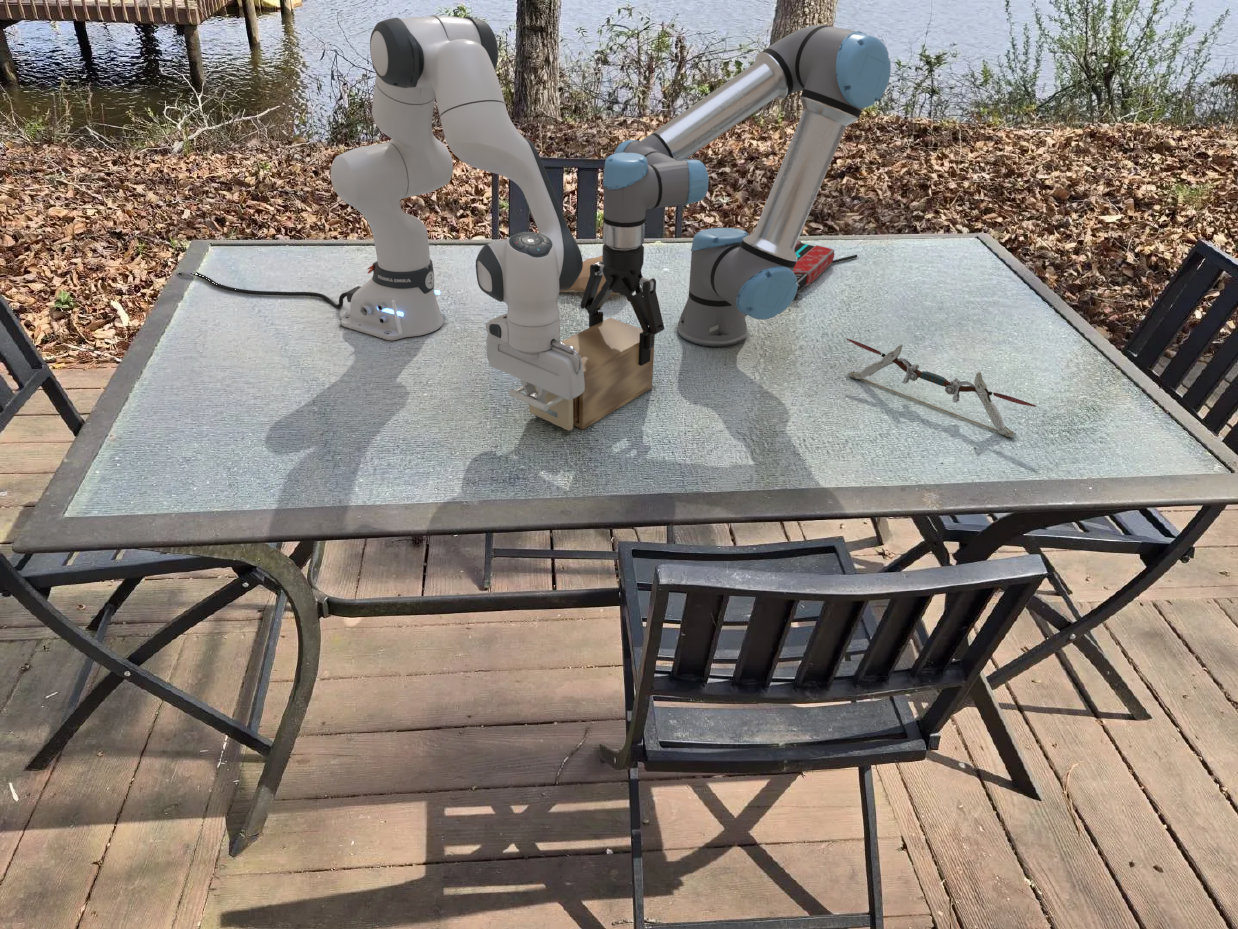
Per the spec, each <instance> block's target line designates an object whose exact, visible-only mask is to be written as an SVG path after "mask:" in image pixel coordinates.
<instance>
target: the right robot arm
mask: <svg viewBox="0 0 1238 929" xmlns="http://www.w3.org/2000/svg"><path fill="white" fill-rule="evenodd" d="M891 68H892V64H891V59H890V57H889V51H888V48H887V47H886V45H885V44H884V43H883V42H882V41H881V40H880V39H879V38H878V37H876V36H874V35H871V34H867V33H866V32H863V31H860V30H857V31H856V30H851V29H846V28H841V27H835V26H832V25H829V24H828V25H827V24H814V25H808V26H806V27H803V28H799V29H797V30H796V31H793V32H792V33H790V34H788V35H786V36H784V37H782V38H780V39H779V40H777V41H776V42H774V43H772V44H771V45H769V46H768V47H766V48H765V49H764V50H762V51H761V52H759V53H758V54H756V56H755V59H754V63H753V64H751V65H750V66H748V67H747V68H745V69H744V70H742V71H741V72H739V73H738V74H737V75H735V76H734V77H732V78H731V79H729V80H728V81H726V82H725V83H723V84H722V85H720V86H719V87H718V88H716V89H714V90H713V91H712V92H710V93H709V94H708V95H705V96H704V97H703V98H702V99H700V100H699V101H697V102H696V103H694V104H693V105H691V106H690V107H689V108H687V109H685V110H684V111H682V112H681V113H679V114H678V115H677V116H676V117H674V118H672V119H671V120H669V121H668V122H667V123H665V124H663V125H662V126H661V127H659V128H657V129H656V130H655V131H653V132H652V133H650V134H649V135H648V136H646V137H644V138H643V139H641V140H638V139H627V140H624V141H622V142H621V143H620V144H619V145H618V146H617V147H616V148H615V151H614V153H612V154H610V155H608V156H607V157H606V159H605V162H604V168H603V180H602V187H603V199H602V200H603V207H602V208H603V210H602V211H603V212H602V213H603V217H602V218H603V219H602V243H603V245H602V254H601V256H602V262H603V263H602V262H601V261H599V262H597V263H594V264H592V265H590V277H589V280H588V283H587V286H586V289H585V292H583V294H582V298H581V301H580V304H579V306H580V308H581V309H583V310H584V309H585V310H586V312H587V314H588V328H590V327H592V326H594V325H596V324H598V323H600V322H602V321H604V312H603V311H601V310H603V308H602V307H603V306H604V304H606V302H607V300H608V299H609V298H608V297H609V296H610V295H611V293H612V292H614V293H619V294H620V295H621V296H622V297H625V298H626V301H627V302H629V303H630V305H631V307H632V309H633V310H632V311H633V312H634V314H635V316H636V318H637V321H638V323H639V325H640V329H642V330H643V332H642V333H640V339H639V364H638V365H640V366H642V365H644V364H646V363H648V362H649V361H650V355H651V349H652V348H653V347H654V348H655V341H654V335H655V336H656V335H657V334H659V333H661V332H663V331H664V330H665V324H664V321H663V316H662V312H661V307H660V303H659V299H658V295H657V280H656V278H654V277H652V278H650V279H649V278H645V277H643V273H642V269H643V266H644V261H645V260H644V259H645V247H644V245H643V244H644V243H645V235H646V234H645V233H646V232H645V231H646V230H645V228H646V214H647V210H654V209H660V208H668V207H676V206H688V205H690V204H694V203H695V204H696V203H700V202H701V201H703V200H704V199H705V198H706V196H707V194H708V191H709V182H710V180H709V179H710V178H709V173H708V169H707V167H706V166H705V164H704V163H703V162H702V161H701V160H699V159H688V158H690V157H692V156H693V155H694V154H695V153H697V152H699V151H700V150H702V149H703V148H704V147H706V146H707V145H709V144H710V143H712V142H713V141H715V140H716V139H718V138H719V137H721V136H722V135H723V134H725V133H727V132H728V131H729V130H731V129H732V128H734V127H736V126H738V124H740V123H741V122H742V121H744V120H746V119H748V117H750V116H751V115H753V114H754V113H755V112H757V111H759V110H760V109H761V108H763V107H765V105H767V104H769V103H770V102H772V101H773V100H777V101H782V100H784V99H786V98H787V97H789V96H790V95H792V94H794V93H798V92H801V94H800V97H799V99H800V103H801V106H802V109H803V110H802V113H801V114H800V118H799V120H798V123H797V126H796V128H795V130H794V132H793V136H792V138H791V139H790V140H791V141H790V142H789V145H788V148H787V150H786V151H785V155H784V157H783V159H782V162H781V165H780V167H779V169H778V172H777V175H776V176H775V180H774V182H773V184H772V187H771V188H770V191H769V194H768V197H767V199H766V201H765V204H764V207H763V209H762V211H761V214H760V216H759V219H758V221H757V223H756V227H755V229H754V231H753V232H752V233H750V234H749V232H747V231H746V230H744V229H740V228H733V227H713V228H712V227H711V228H706V229H702V230H700V231H698V232H696V233H695V235H694V236H693V239H692V244H691V248H690V252H691V253H690V254H691V257H690V268H689V284H688V297H687V300H686V302H685V305H684V307H683V310H682V312H681V315H680V316H679V319H678V323H677V332H678V335H679V336H680V337H681V338H682V339H684V340H685V341H687V342H690V343H692V344H695V345H698V346H704V347H712V348H719V347H729V346H733V345H737V344H739V343H741V342H743V341H744V340H745V339H746V337H747V332H748V331H747V330H748V326H747V321H746V315H747V316H749V317H750V318H752V319H755V320H759V321H764V320H766V321H767V320H770V319H773V318H775V317H777V316H778V315H780V314H782V313H784V311H786V310H787V309H788V308H789V307H790V306H791V304H792V302H793V301H794V300H795V299H794V297H795V295H796V292H797V288H798V283H797V282H796V281H797V278H796V276H795V274H794V272H793V269H794V267H795V265H796V262H797V256H796V253H795V251H794V248H795V245H796V243H797V241H798V240H799V238H800V236H801V234H802V231H803V229H804V226H805V224H806V222H807V220H808V217H809V215H810V213H811V211H812V209H813V205H814V204H815V201H816V199H817V196H818V194H819V191H820V190H821V187H822V184H823V182H824V180H825V178H826V175H827V173H828V171H829V169H830V166H831V164H832V161H833V159H834V157H835V154H836V152H837V150H838V147H839V146H840V143H841V140H842V138H843V136H844V134H845V130H846V129H847V127H848V126H849V125H851V124H854V123H855V122H857V121H859V119H860V117H861V114H862V112H863V109H866V108H868V107H871V106H873V105H875V102H878V101H879V100H881V98H882V97H883V95H884V93H885V92H886V91H887V88H888V84H889V82H890V78H891V71H892V69H891ZM857 258H858V254H853V255H849V256H845V257H841V258H837V259H833V261H832V263H831V264H830V265H832V264H837V263H840V262H844V261H848V260H852V259H857ZM603 274H604V277H605V279H606V282H605V283H604V285H603V286H602V287H601V291H600V292H599V293H598V295H597V296H596V293H597V290H598V288H599V285H600V282H601V279H602V276H603ZM634 293H635V294H634ZM619 294H618V295H619ZM595 296H596V297H595Z"/></svg>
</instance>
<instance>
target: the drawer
mask: <svg viewBox="0 0 1238 929" xmlns="http://www.w3.org/2000/svg"><path fill="white" fill-rule="evenodd" d="M534 387H535V390H536V386H535V385H534ZM523 392H525V391H524V389H523V387H522V386H520V387H518V388H516V389H514V388H511V389H510V390H509V391H508V395H509V396H510V397H512V398H515V399H517V400H519V401H522V402H523V403H525V404H528V411H529V412H528V413H530V414H531V415H534V416H535V417H538V418H541V419H542V420H545V421H547V422H549V423H551V424H553V425H555V426H558V427H560V428H562V429H564V430H567V431H572V430H573V429H574V425H573V421H574V422H576V421H578V420H579V396H578V397H576V398H574V399H572V400H567V399H564V398H562V397H560V396H558V395H555V394H553V393H551V392H548V393H547V394H546V396H545V403H543V402H541V401H538V400H536V399H534V398H532V397H530V396H527V395H526V393H523ZM536 392H539V391H537V390H536Z"/></svg>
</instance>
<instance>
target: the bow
mask: <svg viewBox="0 0 1238 929" xmlns="http://www.w3.org/2000/svg"><path fill="white" fill-rule="evenodd" d="M845 340H846V341H847V342H850V343H852V344H853V345H855V346H857V347H859V348H860V349H861V348H862V349H864V350H866V351H869V352H871V353H874V354H876V355H880V357H881V358H882V359H881V360H878V361H876V362H873V363H872V364H870V365H868V366H866V367H865V368H864V369H862V370H861V371H855V370H853V371H850V372H848V374H847V375H848V376H849V377H851V378H853V379H855V380H861V381H864V382H867V383H869V384H872V385H874V386H877V387H880V388H882V389H886V390H887V391H890V392H893V393H896V394H898V395H901V396H904V397H906V398H909V399H912V400H914V401H916V402H919V403H922V404H924V405H927V406H929V407H933V408H936V409H937V410H941V411H943V412H946V413H948V414H951V415H954V416H956V417H959V418H962V419H964V420H967V421H969V422H971V423H974V424H977V425H980V426H982V427H985V428H988V429H991V430H992V431H995V432H998V433H999V434H1001V435H1003V436H1005V437H1007V438H1014V436H1015V435H1016V433H1015V432H1014V431H1013V430H1011V429H1010V428H1009V427H1007V426H1006V425H1005V424H1004V420H1003V418H1002V415H1001V413H1000V411H999V409H998V408H997V406H996V405H995V403H994V402H993V401H992V399H991V396H992V395H993V396H994V397H996V398H999V399H1002V400H1005V401H1008V402H1011V403H1015V404H1019V405H1022V406H1028V407H1033V408H1034V407H1035V408H1036V407H1037V404H1033V403H1030V402H1027V401H1026V400H1025V401H1024V400H1022V399H1020V398H1016V397H1013V396H1010V395H1006V394H1003V393H1000V392H999V393H998V392H993V391H991V390H990V391H989V389H988V386H987V384H986V382H985V381H984V379H983V375H982V371H977V372H976V373H975V377H974V382H973V383H972V382H970V381H968V380H964V381H961V380H960V379H958V378H957V377H954V379H953V380H951V381H949V380H947V378H946V377H944V376H942V375H939V374H937V373H933V372H930V371H927V370H926V371H925V370H922V371H921V370H919V368H920V365H919V364H918V363H917V364H912V363H911V362H910V361H909V360H908V359H906V358H902V357H899V356H900V355H901V354H902V349H903V344H898V345H897V347H896V348H895V349H894V350H891V351H889V352H888V353H887V354H886V353H884V352H881V351H880V350H877V349H876V348H873V347H871V346H869V345H867V344H864V343H861V342H859V341H856V340H853V339H850V338H846V337H845ZM898 357H899V358H898ZM892 364H893V365H894V364H896V366H897V367H898V368H900V369H901V370H902V371H903V372H905V375H904V377H903V380H902V381H901V383H902V384H904V385H907V384H908V383H909V382H910V381H912V382H916V381H917V380H918V379H922V380H923V381H926V382H929V383H932V384H935V385H937V386H940V387H945V388H944V391H945V393H946V394H947V395H951V396H952V395H953V396H952V403H955V404H957V403H958V402H960V392H961V393H968V392H969V393H970V392H971V393H972V392H974V393H975V394H976V395H977V397H978V399H979V400H980V402H981V404H982V405H983V407H984V409H985V412H986V414H987V416H988V417H989V419H990V422H991V423H992V425H993V426H994V428H993V427H990V426H988V425H985V424H982V423H981V422H977V421H975V420H972V419H969V418H967V417H964V416H962V415H959V414H956V413H954V412H951V411H948V410H945V409H943V408H940V407H939V406H935V405H933V404H930V403H927V402H924V401H922V400H920V399H916V398H914V397H911V396H909V395H906V394H904V393H902V392H898V391H896V390H893V389H890V388H888V387H885V386H882V385H880V384H877V383H875V382H872V381H870V380H867V379H865V378H867V377H871V376H872V375H874V374H875V373H877V372H878V371H880V370H882V369H884V368H886V367H888V366H890V365H892Z"/></svg>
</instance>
